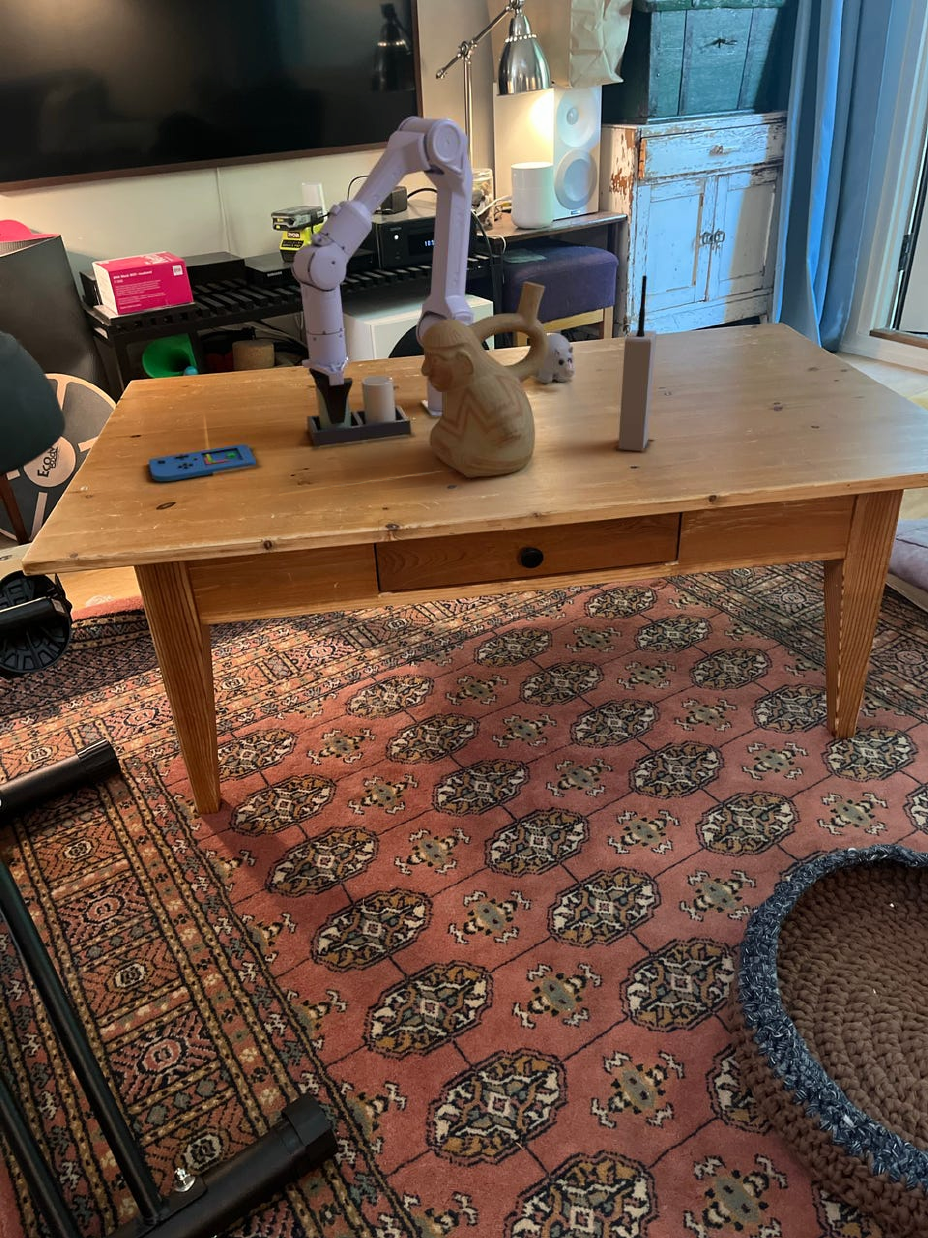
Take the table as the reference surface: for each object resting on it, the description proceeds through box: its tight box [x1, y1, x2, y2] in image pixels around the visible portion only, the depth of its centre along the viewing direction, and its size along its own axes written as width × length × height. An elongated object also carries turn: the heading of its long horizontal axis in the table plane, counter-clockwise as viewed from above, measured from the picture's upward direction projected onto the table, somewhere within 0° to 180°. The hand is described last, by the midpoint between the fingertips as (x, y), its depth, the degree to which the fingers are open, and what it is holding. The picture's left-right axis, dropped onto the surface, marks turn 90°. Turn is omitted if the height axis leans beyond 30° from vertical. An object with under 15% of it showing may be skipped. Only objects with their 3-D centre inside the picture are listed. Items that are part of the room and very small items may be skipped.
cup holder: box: [306, 404, 412, 447], centre depth 146 cm, size 15×8×3 cm, turn 106°
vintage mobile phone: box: [618, 274, 657, 452], centre depth 132 cm, size 4×5×25 cm
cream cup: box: [361, 375, 396, 425], centre depth 145 cm, size 5×5×8 cm
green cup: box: [314, 385, 352, 430], centre depth 143 cm, size 5×5×8 cm
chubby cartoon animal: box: [532, 332, 576, 384], centre depth 163 cm, size 7×12×8 cm, turn 16°
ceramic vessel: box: [420, 281, 548, 479], centre depth 128 cm, size 17×20×25 cm
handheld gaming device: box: [148, 443, 257, 482], centre depth 137 cm, size 8×1×15 cm
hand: (334, 416), depth 144 cm, fingers closed on green cup, 5 cm apart
